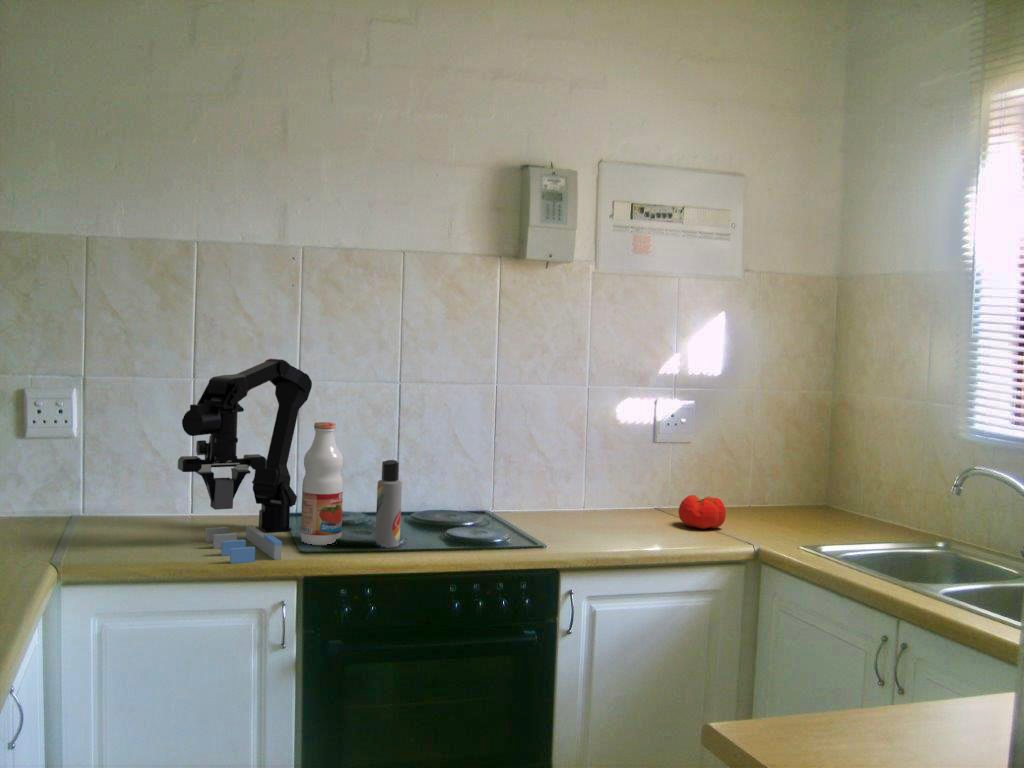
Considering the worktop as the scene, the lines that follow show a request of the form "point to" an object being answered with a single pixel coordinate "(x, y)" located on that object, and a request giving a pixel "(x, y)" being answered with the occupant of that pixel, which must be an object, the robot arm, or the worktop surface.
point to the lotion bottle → (388, 506)
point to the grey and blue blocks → (243, 543)
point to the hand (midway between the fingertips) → (221, 500)
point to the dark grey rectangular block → (223, 493)
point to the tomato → (702, 512)
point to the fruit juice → (322, 488)
